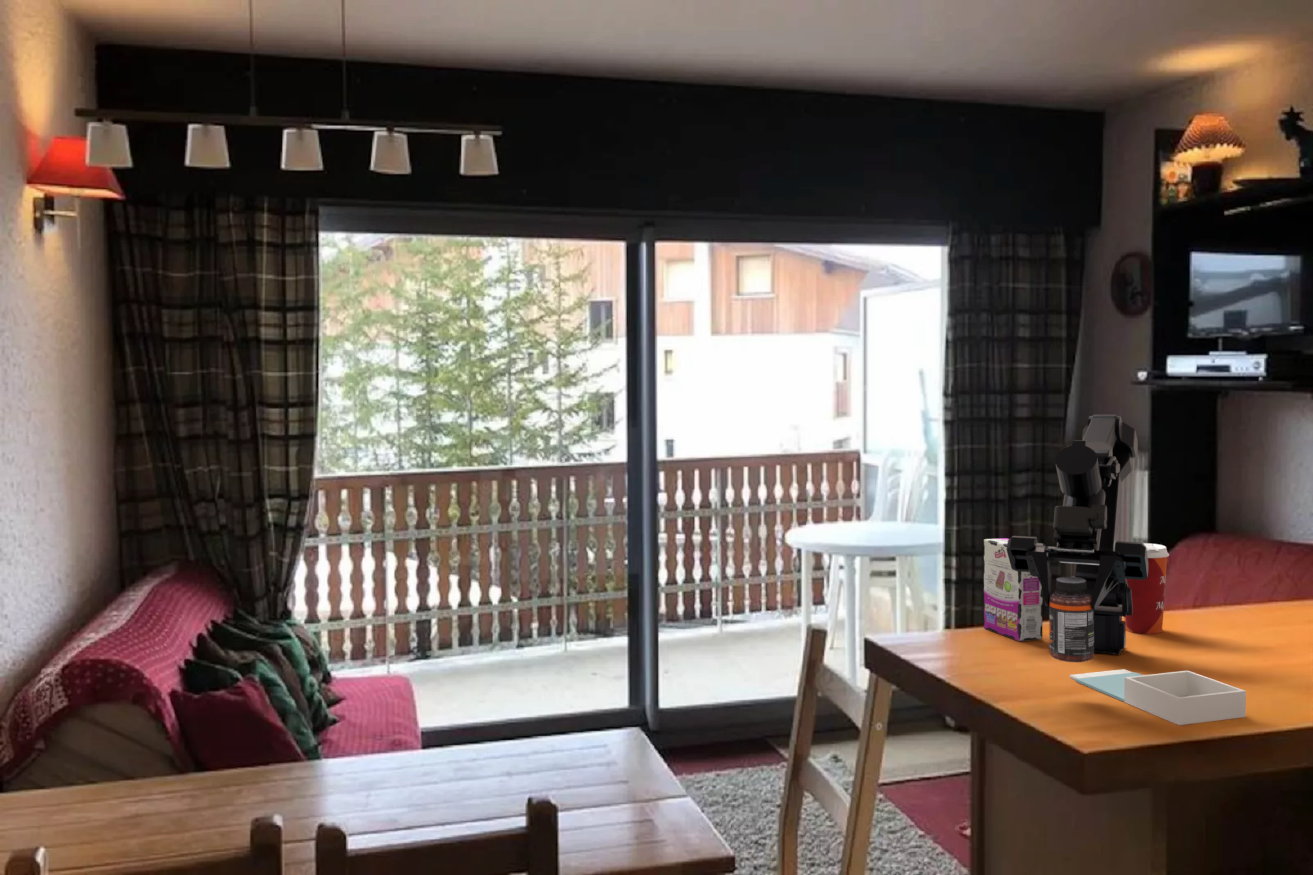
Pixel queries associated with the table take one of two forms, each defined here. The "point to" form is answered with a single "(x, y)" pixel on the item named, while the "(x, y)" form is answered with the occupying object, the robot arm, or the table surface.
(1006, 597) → the candy bar box
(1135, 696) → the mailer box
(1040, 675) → the table surface
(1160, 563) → the coffee cup
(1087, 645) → the supplement bottle
